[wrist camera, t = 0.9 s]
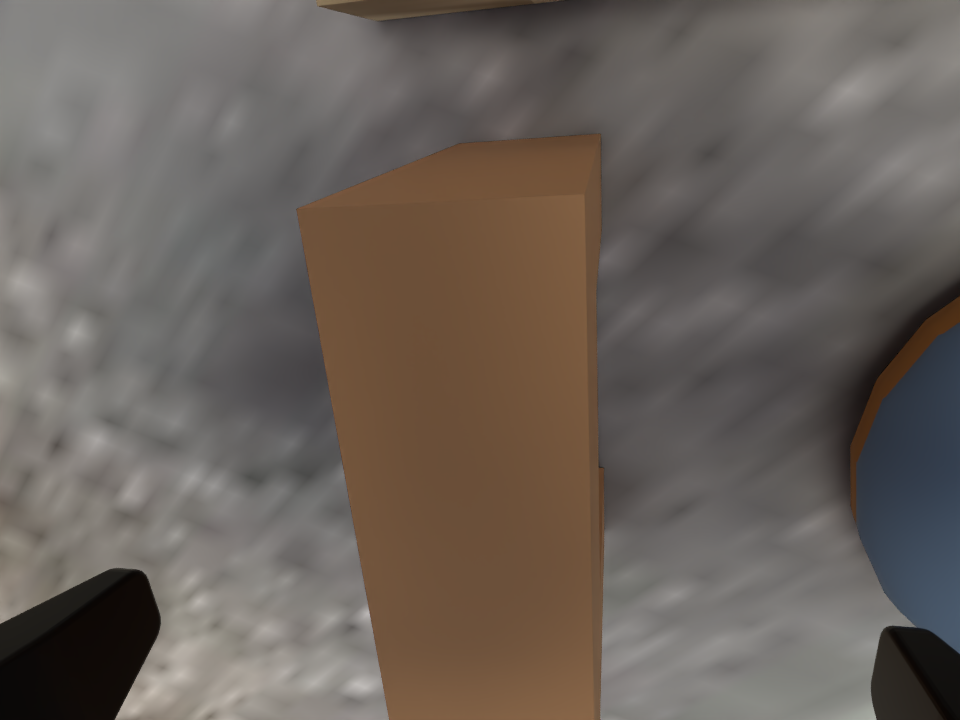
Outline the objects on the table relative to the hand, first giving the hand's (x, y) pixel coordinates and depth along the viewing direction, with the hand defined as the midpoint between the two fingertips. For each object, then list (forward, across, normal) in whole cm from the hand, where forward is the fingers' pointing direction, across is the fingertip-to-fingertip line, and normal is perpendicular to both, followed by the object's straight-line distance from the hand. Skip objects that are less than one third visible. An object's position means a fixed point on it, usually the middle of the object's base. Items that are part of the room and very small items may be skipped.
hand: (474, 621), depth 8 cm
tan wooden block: (+8, 0, 0) cm, 9 cm away
